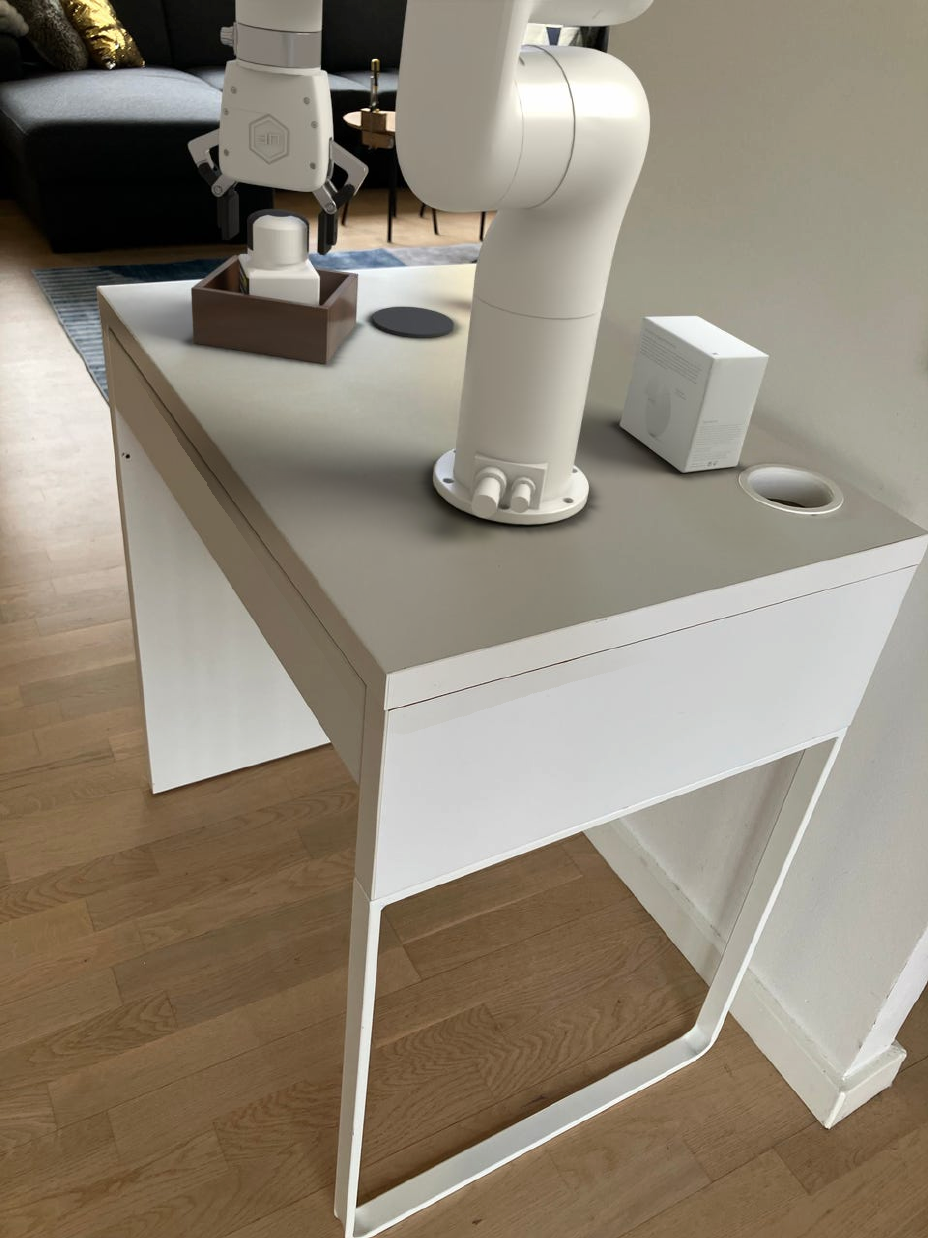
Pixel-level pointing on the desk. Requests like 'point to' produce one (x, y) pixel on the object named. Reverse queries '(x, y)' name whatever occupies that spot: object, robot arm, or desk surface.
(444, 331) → the coaster
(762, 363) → the cosmetics box
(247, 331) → the desk caddy
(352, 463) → the desk surface
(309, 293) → the medicine bottle
